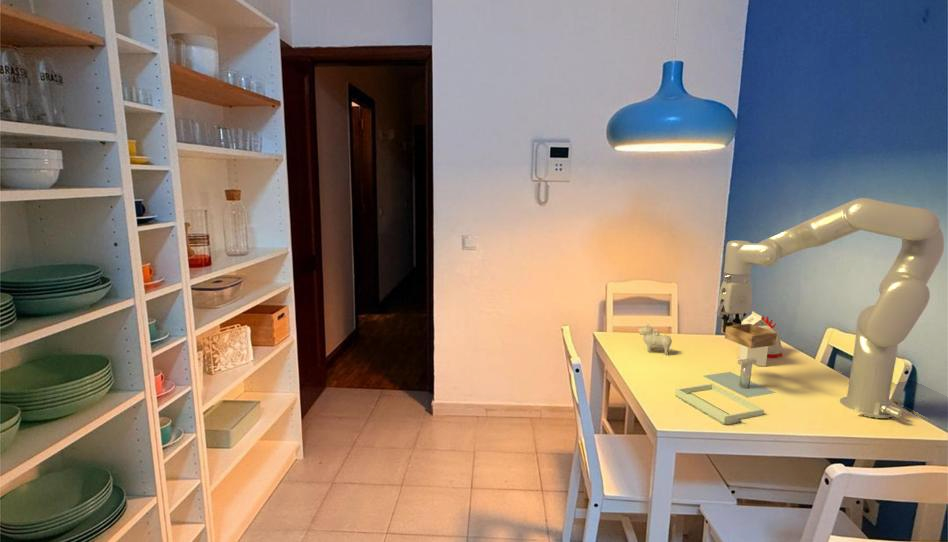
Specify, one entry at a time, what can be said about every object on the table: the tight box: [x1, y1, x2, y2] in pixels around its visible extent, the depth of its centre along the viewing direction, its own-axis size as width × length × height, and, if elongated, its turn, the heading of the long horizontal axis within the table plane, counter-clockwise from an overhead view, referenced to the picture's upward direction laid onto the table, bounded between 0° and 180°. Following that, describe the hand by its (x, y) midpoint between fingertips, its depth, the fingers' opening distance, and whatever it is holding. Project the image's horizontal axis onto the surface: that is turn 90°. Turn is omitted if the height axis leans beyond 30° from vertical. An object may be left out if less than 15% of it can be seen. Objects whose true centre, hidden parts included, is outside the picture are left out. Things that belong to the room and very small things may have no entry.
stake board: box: [703, 371, 777, 398], centre depth 159 cm, size 18×12×1 cm, turn 18°
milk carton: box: [737, 310, 770, 367], centre depth 179 cm, size 7×7×19 cm
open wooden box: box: [720, 320, 778, 348], centre depth 156 cm, size 15×10×4 cm, turn 18°
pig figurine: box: [637, 324, 673, 356], centre depth 192 cm, size 5×13×11 cm, turn 61°
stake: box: [737, 358, 756, 389], centre depth 156 cm, size 3×6×9 cm, turn 108°
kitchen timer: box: [762, 315, 783, 359], centre depth 192 cm, size 14×14×15 cm
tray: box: [675, 383, 765, 426], centre depth 145 cm, size 19×14×2 cm
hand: (731, 332), depth 161 cm, fingers closed on open wooden box, 3 cm apart
